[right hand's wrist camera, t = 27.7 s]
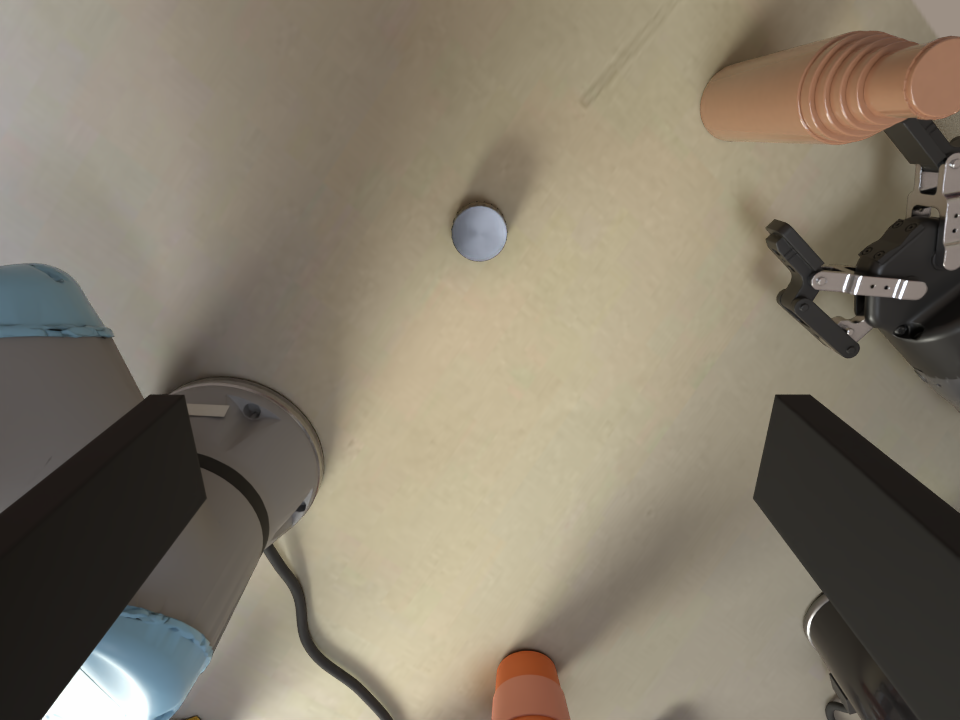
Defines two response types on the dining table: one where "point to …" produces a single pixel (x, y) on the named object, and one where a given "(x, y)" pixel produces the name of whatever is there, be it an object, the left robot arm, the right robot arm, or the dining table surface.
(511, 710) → the cup with straw
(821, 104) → the bottle
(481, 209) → the cap
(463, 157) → the dining table surface
